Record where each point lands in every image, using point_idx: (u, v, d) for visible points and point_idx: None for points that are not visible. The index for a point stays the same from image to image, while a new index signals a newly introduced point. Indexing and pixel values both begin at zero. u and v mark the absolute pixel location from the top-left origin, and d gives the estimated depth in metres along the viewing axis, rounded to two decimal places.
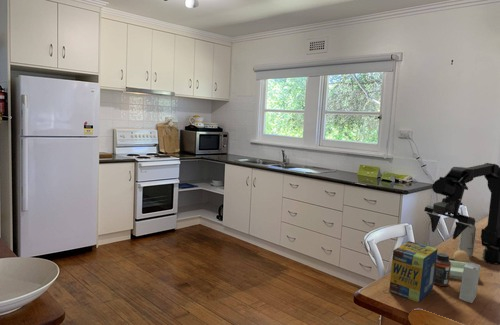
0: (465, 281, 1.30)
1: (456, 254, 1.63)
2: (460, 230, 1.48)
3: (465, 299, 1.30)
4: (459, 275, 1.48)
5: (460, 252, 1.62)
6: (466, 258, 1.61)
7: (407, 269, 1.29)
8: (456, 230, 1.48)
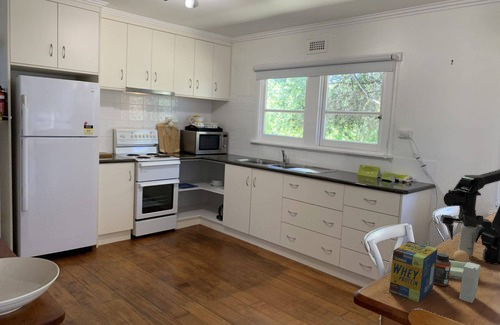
0: (465, 281, 1.30)
1: (456, 254, 1.63)
2: None
3: (465, 299, 1.30)
4: (459, 275, 1.48)
5: (460, 252, 1.62)
6: (466, 258, 1.61)
7: (407, 269, 1.29)
8: (479, 235, 1.60)
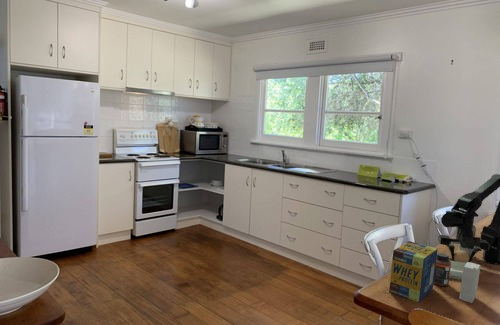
0: (465, 281, 1.30)
1: (456, 254, 1.63)
2: None
3: (465, 299, 1.30)
4: (459, 275, 1.48)
5: (460, 252, 1.62)
6: (466, 258, 1.61)
7: (407, 269, 1.29)
8: (472, 255, 1.61)
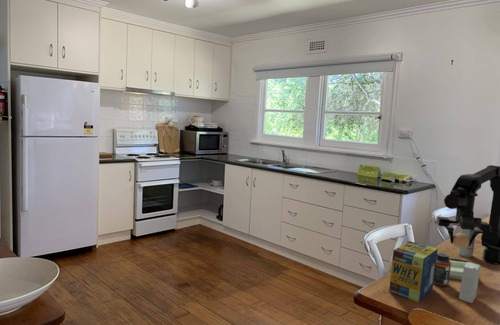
0: (465, 281, 1.30)
1: (455, 237, 1.53)
2: None
3: (465, 299, 1.30)
4: (459, 275, 1.48)
5: (460, 234, 1.52)
6: (466, 241, 1.51)
7: (407, 269, 1.29)
8: (473, 238, 1.51)
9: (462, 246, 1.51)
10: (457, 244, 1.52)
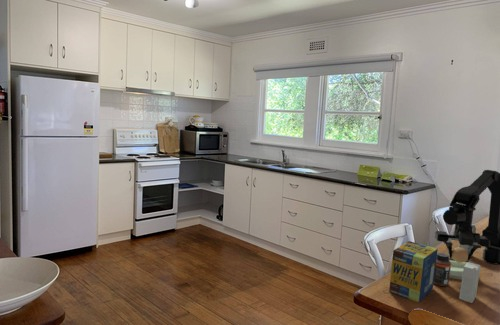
0: (465, 281, 1.30)
1: (454, 251, 1.52)
2: None
3: (465, 299, 1.30)
4: (459, 275, 1.48)
5: (458, 249, 1.51)
6: (465, 256, 1.50)
7: (407, 269, 1.29)
8: (472, 252, 1.50)
9: (461, 261, 1.51)
10: (456, 259, 1.51)
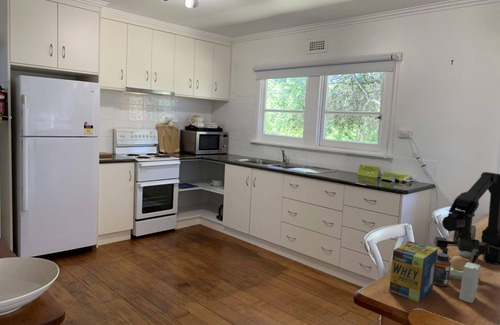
0: (465, 281, 1.30)
1: (453, 260, 1.52)
2: None
3: (465, 299, 1.30)
4: (459, 275, 1.48)
5: (457, 258, 1.52)
6: (464, 264, 1.50)
7: (407, 269, 1.29)
8: (474, 259, 1.50)
9: (460, 269, 1.51)
10: (455, 267, 1.52)
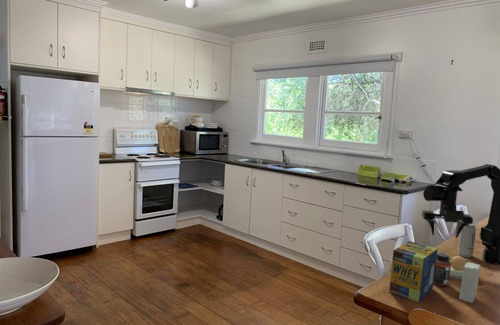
0: (465, 281, 1.30)
1: (453, 260, 1.52)
2: None
3: (465, 299, 1.30)
4: (459, 275, 1.48)
5: (457, 258, 1.52)
6: (463, 264, 1.50)
7: (407, 269, 1.29)
8: (460, 230, 1.60)
9: (460, 269, 1.51)
10: (455, 268, 1.52)
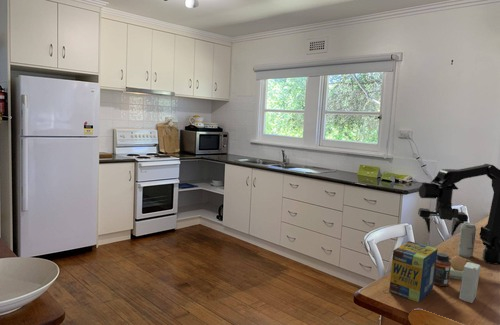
0: (465, 281, 1.30)
1: (453, 260, 1.52)
2: None
3: (465, 299, 1.30)
4: (459, 275, 1.48)
5: (457, 258, 1.52)
6: (463, 264, 1.50)
7: (407, 269, 1.29)
8: (455, 228, 1.63)
9: (460, 269, 1.51)
10: (455, 268, 1.52)
